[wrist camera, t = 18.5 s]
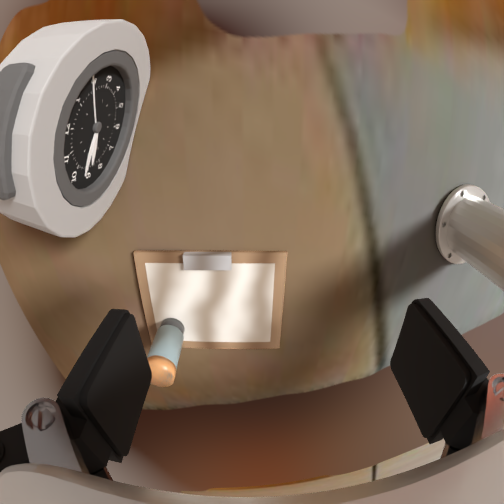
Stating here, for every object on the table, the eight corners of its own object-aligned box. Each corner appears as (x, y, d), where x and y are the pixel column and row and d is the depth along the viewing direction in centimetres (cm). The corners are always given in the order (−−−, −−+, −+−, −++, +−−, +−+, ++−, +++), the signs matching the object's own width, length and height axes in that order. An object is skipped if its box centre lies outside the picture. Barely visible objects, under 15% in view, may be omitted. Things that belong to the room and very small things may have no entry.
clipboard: (286, 250, 37) (288, 255, 35) (278, 345, 43) (280, 352, 41) (134, 250, 36) (130, 255, 35) (152, 343, 42) (150, 349, 41)
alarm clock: (120, 209, 34) (22, 286, 16) (74, 196, 33) (-31, 258, 15) (161, 46, 26) (73, -22, 7) (109, 42, 25) (4, -2, 6)
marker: (184, 316, 39) (171, 365, 30) (187, 338, 41) (176, 388, 32) (157, 315, 39) (138, 362, 30) (161, 337, 41) (145, 384, 32)
